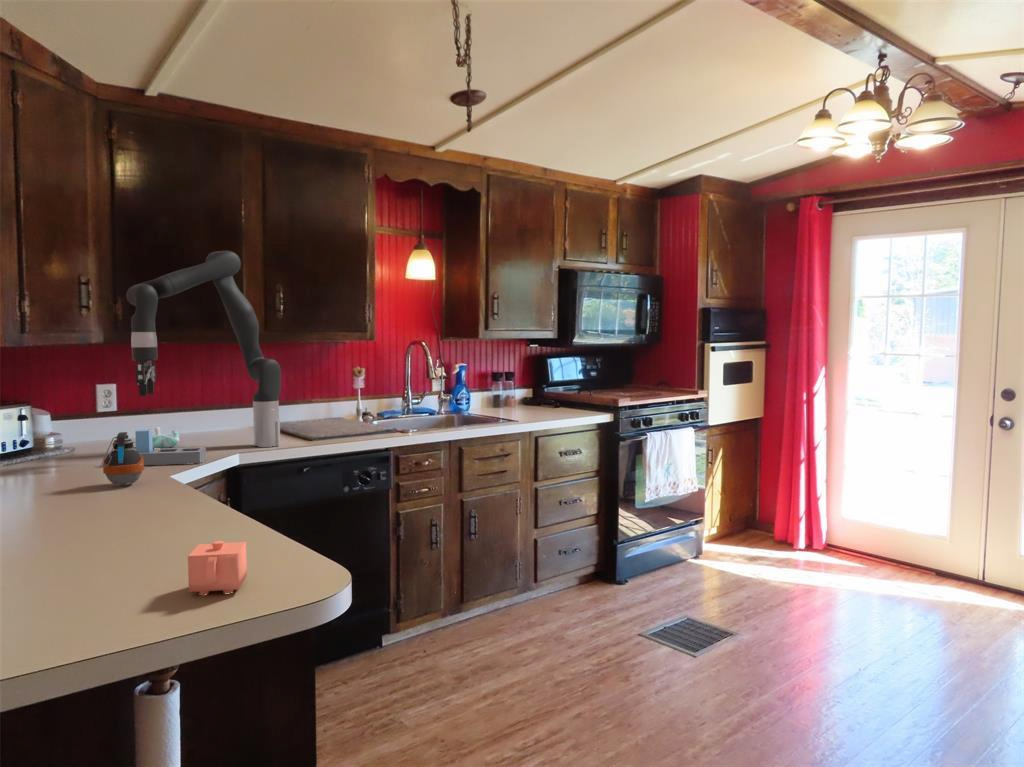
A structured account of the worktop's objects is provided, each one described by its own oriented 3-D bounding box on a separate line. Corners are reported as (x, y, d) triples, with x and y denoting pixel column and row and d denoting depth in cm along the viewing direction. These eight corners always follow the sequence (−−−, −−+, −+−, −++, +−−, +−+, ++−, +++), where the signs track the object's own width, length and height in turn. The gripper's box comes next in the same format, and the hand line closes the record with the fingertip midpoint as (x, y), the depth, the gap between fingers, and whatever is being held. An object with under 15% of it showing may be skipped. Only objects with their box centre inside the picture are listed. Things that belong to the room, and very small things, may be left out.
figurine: (166, 425, 286) (186, 430, 263) (169, 440, 287) (189, 446, 263) (130, 431, 278) (147, 437, 255) (133, 447, 279) (150, 454, 255)
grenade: (106, 483, 204) (104, 431, 202) (146, 480, 207) (144, 429, 206) (99, 491, 193) (97, 436, 192) (141, 488, 197) (140, 434, 196)
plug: (153, 462, 237) (152, 429, 236) (149, 464, 233) (148, 430, 232) (140, 462, 236) (138, 429, 235) (136, 464, 232) (135, 431, 231)
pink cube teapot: (250, 575, 127) (249, 530, 127) (236, 600, 115) (235, 550, 115) (204, 577, 126) (202, 532, 125) (185, 603, 114) (183, 552, 114)
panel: (206, 458, 243) (205, 447, 243) (200, 463, 234) (199, 451, 233) (136, 461, 238) (135, 449, 238) (126, 466, 229) (126, 454, 228)
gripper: (151, 346, 227) (153, 396, 229) (162, 345, 241) (164, 392, 242) (125, 346, 226) (127, 397, 227) (138, 345, 239) (140, 393, 241)
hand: (146, 394), depth 235 cm, fingers open, 8 cm apart
